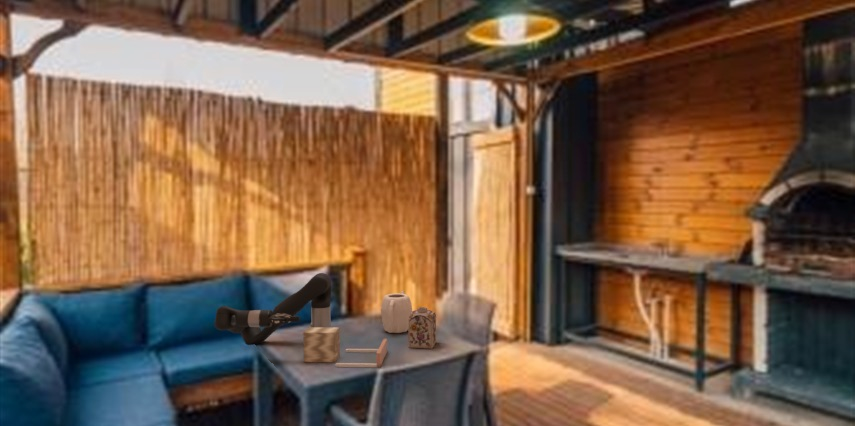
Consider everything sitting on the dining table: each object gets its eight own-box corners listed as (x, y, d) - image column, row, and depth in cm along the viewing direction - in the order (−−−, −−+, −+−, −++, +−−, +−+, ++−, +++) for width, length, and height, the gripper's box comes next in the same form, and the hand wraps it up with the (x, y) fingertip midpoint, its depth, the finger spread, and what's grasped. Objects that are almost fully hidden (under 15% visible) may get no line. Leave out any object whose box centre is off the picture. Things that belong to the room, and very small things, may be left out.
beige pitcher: (417, 324, 331) (417, 290, 330) (405, 337, 305) (405, 300, 304) (390, 323, 335) (389, 289, 334) (375, 336, 309) (375, 299, 308)
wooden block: (303, 361, 268) (303, 332, 267) (309, 355, 277) (308, 327, 276) (335, 362, 267) (335, 332, 266) (339, 356, 276) (339, 327, 275)
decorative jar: (432, 349, 285) (432, 310, 284) (408, 348, 287) (407, 310, 286) (436, 342, 297) (436, 305, 296) (413, 341, 299) (412, 304, 298)
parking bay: (335, 366, 260) (335, 352, 260) (346, 351, 283) (346, 338, 282) (380, 367, 259) (379, 353, 258) (387, 351, 282) (387, 338, 281)
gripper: (265, 323, 278) (303, 323, 277) (255, 330, 265) (295, 331, 264) (265, 307, 278) (302, 307, 277) (255, 313, 264) (295, 313, 264)
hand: (299, 319), depth 270 cm, fingers closed
